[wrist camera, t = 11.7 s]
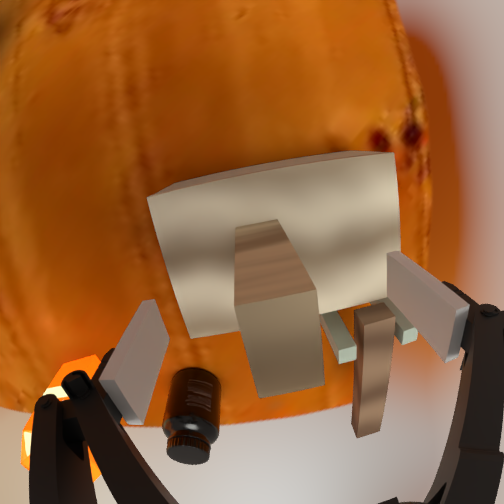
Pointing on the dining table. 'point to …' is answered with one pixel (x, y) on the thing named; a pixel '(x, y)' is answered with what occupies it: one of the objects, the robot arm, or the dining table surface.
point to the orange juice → (55, 388)
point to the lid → (280, 256)
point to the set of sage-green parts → (331, 320)
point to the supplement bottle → (192, 416)
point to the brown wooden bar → (371, 366)
